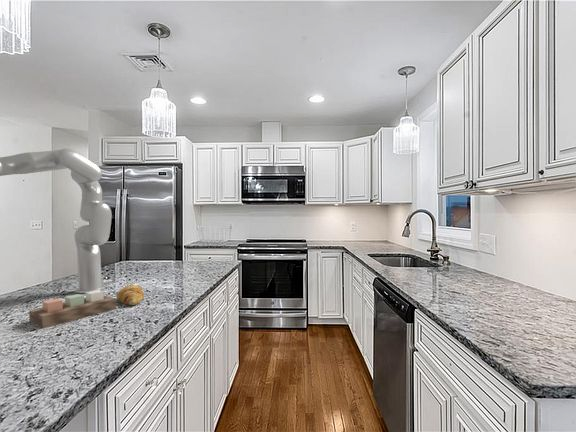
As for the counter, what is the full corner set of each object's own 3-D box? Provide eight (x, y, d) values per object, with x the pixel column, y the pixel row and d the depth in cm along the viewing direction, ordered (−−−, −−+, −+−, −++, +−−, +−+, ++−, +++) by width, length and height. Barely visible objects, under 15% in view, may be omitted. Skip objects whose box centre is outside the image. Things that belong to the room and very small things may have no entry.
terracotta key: (57, 309, 118) (57, 298, 118) (62, 311, 116) (62, 300, 116) (42, 312, 115) (42, 301, 114) (48, 315, 112) (47, 303, 112)
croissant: (141, 314, 131) (151, 295, 133) (116, 306, 126) (126, 287, 128) (134, 301, 149) (143, 284, 151) (112, 294, 144) (121, 277, 146)
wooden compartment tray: (100, 304, 134) (100, 294, 134) (116, 308, 127) (115, 298, 127) (29, 321, 115) (29, 310, 114) (43, 328, 108) (42, 316, 108)
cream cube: (98, 299, 130) (97, 289, 130) (103, 301, 127) (103, 291, 127) (85, 302, 126) (85, 292, 126) (91, 304, 123) (91, 294, 123)
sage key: (78, 304, 124) (78, 294, 124) (84, 306, 121) (83, 295, 121) (65, 307, 120) (64, 296, 120) (70, 309, 118) (70, 298, 118)
